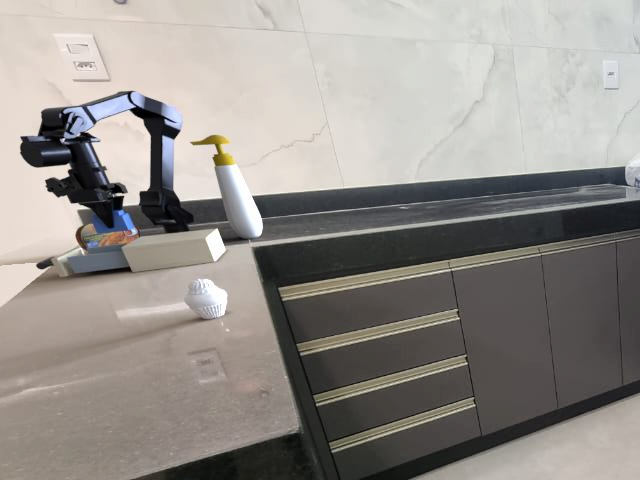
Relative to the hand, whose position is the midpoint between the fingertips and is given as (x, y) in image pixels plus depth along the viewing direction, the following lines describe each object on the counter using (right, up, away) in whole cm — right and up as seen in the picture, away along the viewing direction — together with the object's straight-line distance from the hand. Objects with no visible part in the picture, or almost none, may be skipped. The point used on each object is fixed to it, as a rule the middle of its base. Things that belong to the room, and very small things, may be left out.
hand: (114, 226), depth 138 cm
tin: (-15, -3, +15) cm, 22 cm away
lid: (0, -1, 0) cm, 1 cm away
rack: (+4, -12, -7) cm, 14 cm away
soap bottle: (+17, +2, +24) cm, 29 cm away
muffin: (+60, -27, -42) cm, 78 cm away
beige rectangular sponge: (+18, -9, -1) cm, 20 cm away
